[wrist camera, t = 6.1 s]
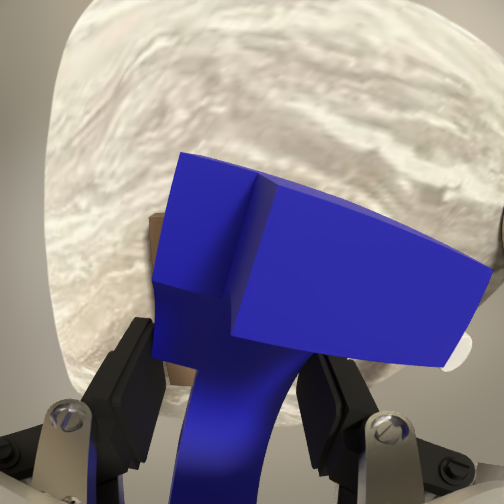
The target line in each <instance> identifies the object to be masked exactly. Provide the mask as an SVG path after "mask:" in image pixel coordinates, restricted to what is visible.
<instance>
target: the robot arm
mask: <svg viewBox="0 0 504 504" xmlns="http://www.w3.org/2000/svg"><path fill="white" fill-rule="evenodd" d="M502 241H503V248H504V217H503V226H502ZM154 325H155V323H153V322H152V319H151V318H140V317H135V318H134V319H133V321H132V322H131V324H130V326H129V327H128V329H127V330H126V332H125V334H124V335H123V337H122V339H121V340H120V342H119V344H118V345H117V347H116V349H115V350H114V351H110V352H109V353H108V355H107V356H106V358H105V359H104V361H103V363H102V364H101V366H100V368H99V370H98V371H97V373H96V375H95V376H94V378H93V380H92V381H91V383H90V385H89V387H88V388H87V390H86V392H85V394H84V395H83V397H82V399H81V401H79V400H75V399H64V400H60V401H58V402H56V403H55V404H53V405H52V406H51V407H50V408H49V409H48V410H47V413H46V415H45V418H44V423H43V424H41V425H38V426H35V427H32V428H29V429H25V430H22V431H19V432H15V433H12V434H9V435H5V436H1V437H0V504H125V503H124V491H123V475H122V474H124V473H126V472H127V471H128V468H131V469H136V470H138V469H139V465H140V462H143V463H145V461H146V459H147V455H148V451H149V447H150V443H151V440H152V436H153V432H154V429H155V425H156V421H157V418H158V414H159V410H160V407H161V403H162V400H163V396H164V393H165V389H166V380H165V374H164V368H163V361H162V360H159V359H156V358H153V357H152V346H153V337H154ZM296 395H297V399H298V404H299V409H300V413H301V418H302V423H303V427H304V431H305V437H306V441H307V446H308V451H309V455H310V460H311V465H312V468H313V469H317V468H318V472H319V476H320V477H321V476H328V475H329V479H330V480H332V481H333V482H335V489H334V498H333V504H504V466H500V465H493V464H486V463H479V462H478V463H477V464H476V465H474V464H473V462H472V461H471V459H469V458H468V457H467V456H466V455H463V454H461V453H458V452H455V451H452V450H449V449H446V448H444V447H441V446H438V445H435V444H432V443H430V442H427V441H424V440H422V439H419V438H416V436H415V430H414V427H413V425H412V423H411V421H410V420H409V419H408V418H407V417H405V416H404V415H402V414H400V413H397V412H393V411H381V412H379V410H378V408H377V406H376V404H375V401H374V399H373V397H372V395H371V393H370V391H369V389H368V387H367V385H366V383H365V381H364V379H363V377H362V375H361V373H360V371H359V369H358V367H357V366H356V364H355V362H354V361H353V360H351V359H349V360H347V358H346V357H339V356H332V355H326V354H320V353H313V355H312V356H311V357H310V358H309V359H308V361H307V362H306V363H305V364H304V366H303V367H302V369H301V370H300V372H299V375H298V380H297V386H296Z"/></svg>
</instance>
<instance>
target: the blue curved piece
mask: <svg viewBox="0 0 504 504" xmlns="http://www.w3.org/2000/svg"><path fill="white" fill-rule="evenodd" d="M492 273H493V269H491V268H489V267H487V266H486V265H484V264H482V263H480V262H478V261H476V260H474V259H473V258H471V257H469V256H467V255H465V254H463V253H461V252H459V251H457V250H455V249H453V248H451V247H450V246H448V245H446V244H444V243H442V242H439V241H437V240H435V239H433V238H431V237H429V236H427V235H425V234H423V233H421V232H419V231H417V230H414V229H412V228H410V227H408V226H406V225H403V224H401V223H399V222H397V221H395V220H392V219H390V218H388V217H385V216H383V215H381V214H378V213H376V212H374V211H371V210H369V209H367V208H364V207H362V206H359V205H357V204H354V203H352V202H349V201H347V200H344V199H341V198H339V197H336V196H333V195H330V194H327V193H325V192H322V191H319V190H316V189H313V188H310V187H307V186H304V185H301V184H298V183H295V182H292V181H289V180H285V179H282V178H279V177H276V176H273V175H269V174H266V173H263V172H259V171H256V170H253V169H249V168H246V167H242V166H239V165H235V164H231V163H228V162H224V161H220V160H217V159H213V158H209V157H205V156H201V155H195V154H189V153H183V152H180V155H179V159H178V163H177V166H176V170H175V174H174V178H173V182H172V186H171V190H170V194H169V198H168V202H167V207H166V211H165V215H164V220H163V224H162V229H161V234H160V239H159V244H158V249H157V254H156V259H155V264H154V270H153V276H152V283H153V288H154V295H155V325H154V337H153V346H152V357H153V358H156V359H159V360H162V361H166V362H169V363H173V364H177V365H180V366H184V367H188V368H192V369H196V372H195V376H194V380H193V384H192V388H191V392H190V396H189V400H188V404H187V408H186V412H185V416H184V420H183V424H182V429H181V433H180V437H179V443H178V449H177V454H176V460H175V466H174V472H173V477H172V484H171V490H170V496H169V503H168V504H256V503H257V494H258V488H259V481H260V476H261V471H262V466H263V462H264V457H265V453H266V449H267V446H268V442H269V439H270V435H271V432H272V429H273V427H274V424H275V421H276V418H277V416H278V413H279V411H280V408H281V406H282V403H283V401H284V399H285V397H286V395H287V393H288V391H289V389H290V387H291V385H292V383H293V382H294V380H295V378H296V377H297V375H298V373H299V372H300V370H301V369H302V367H303V366H304V364H305V363H306V362H307V361H308V359H309V358H310V357H311V356H312V355H313V353H320V354H326V355H332V356H339V357H346V358H353V359H360V360H368V361H376V362H384V363H394V364H404V365H415V366H428V367H442V368H444V366H445V365H446V363H447V361H448V360H449V358H450V357H451V355H452V353H453V352H454V350H455V348H456V346H457V345H458V343H459V341H460V340H461V338H462V336H463V334H464V332H465V330H466V328H467V327H468V325H469V323H470V321H471V319H472V317H473V315H474V313H475V311H476V309H477V307H478V305H479V303H480V301H481V298H482V296H483V294H484V292H485V290H486V287H487V285H488V283H489V280H490V278H491V275H492Z"/></svg>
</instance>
